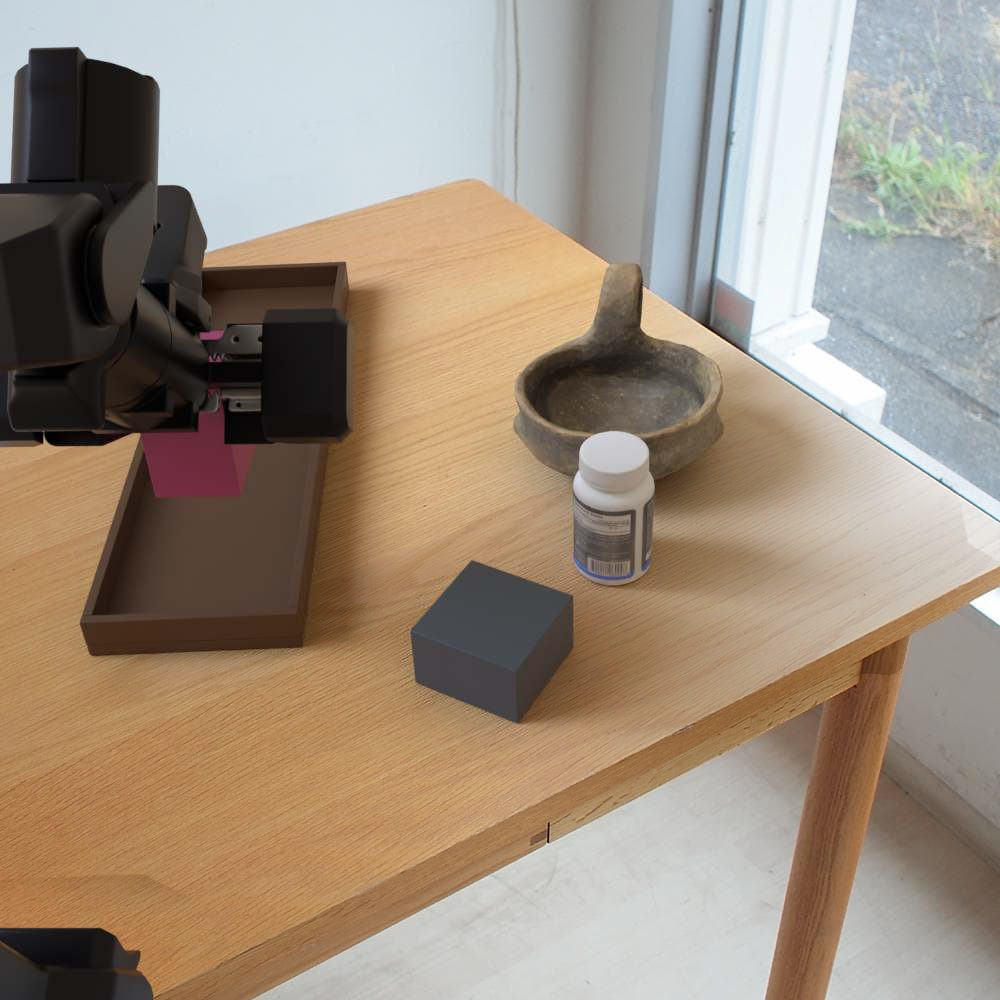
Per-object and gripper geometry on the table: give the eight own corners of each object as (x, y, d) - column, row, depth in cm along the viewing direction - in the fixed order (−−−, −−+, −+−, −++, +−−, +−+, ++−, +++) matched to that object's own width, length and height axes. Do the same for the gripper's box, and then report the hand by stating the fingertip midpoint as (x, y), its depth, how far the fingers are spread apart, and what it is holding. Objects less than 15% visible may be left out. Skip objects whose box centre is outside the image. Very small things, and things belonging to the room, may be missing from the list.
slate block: (518, 724, 70) (516, 671, 68) (415, 682, 73) (409, 630, 70) (573, 647, 75) (573, 595, 72) (474, 611, 77) (471, 559, 75)
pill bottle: (613, 526, 83) (616, 416, 78) (667, 563, 80) (674, 451, 75) (556, 559, 81) (555, 448, 75) (610, 599, 78) (612, 486, 72)
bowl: (501, 515, 84) (496, 384, 78) (533, 367, 98) (531, 245, 91) (720, 528, 82) (732, 395, 76) (721, 375, 96) (731, 252, 90)
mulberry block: (241, 496, 70) (217, 378, 66) (155, 497, 71) (126, 379, 66) (255, 446, 74) (234, 330, 69) (174, 447, 74) (147, 331, 69)
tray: (302, 647, 75) (297, 613, 74) (89, 655, 75) (78, 622, 74) (349, 289, 108) (345, 261, 106) (199, 295, 108) (194, 267, 106)
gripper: (326, 154, 57) (375, 263, 72) (-102, 163, 57) (37, 268, 73) (323, 411, 55) (374, 465, 71) (-115, 416, 56) (30, 469, 71)
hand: (202, 410), depth 71 cm, fingers closed on mulberry block, 4 cm apart
